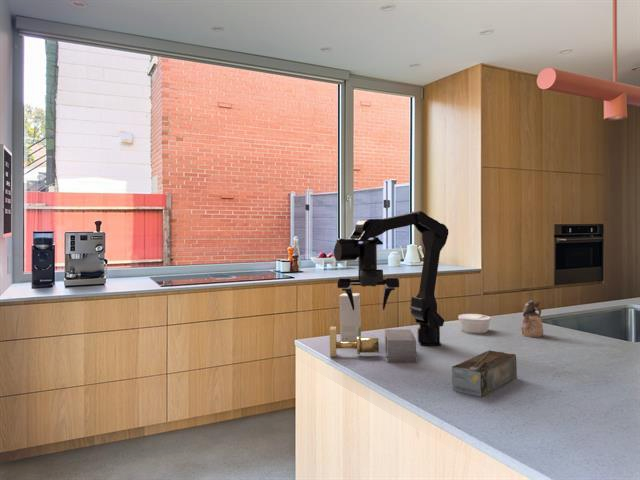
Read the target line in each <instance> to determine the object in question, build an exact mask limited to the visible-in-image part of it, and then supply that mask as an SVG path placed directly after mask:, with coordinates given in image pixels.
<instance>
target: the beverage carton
mask: <svg viewBox="0 0 640 480" xmlns="http://www.w3.org/2000/svg"><path fill="white" fill-rule="evenodd" d="M517 373H518V371H517V355H516V354H514V353H507V352H502V351H495V350H490V349H489V350H487V351H484V352H482V353H481V354H477V355H476V356H474V357H472V358H469V359H467V360H464V361H462V362H460V363H457V364H455V365H453V366H451V384H452V390H453V391H456V392H460V393H464V394H466V395H471V396H475V397H479V398H482V397H485V396H486V395H488V394H490V393H491V392H494V391H495V390H496V389H498V388H501V387H502V386H504V385H505V384H507V383H509V382H512V381H513V380H515V379H516V378H518V374H517Z"/></svg>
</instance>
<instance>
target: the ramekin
mask: <svg viewBox="0 0 640 480" xmlns="http://www.w3.org/2000/svg"><path fill="white" fill-rule="evenodd" d="M457 318H458V323H459V329H460V330H461V331H462V332H464V333H469V334H485V333H487V332H488V331H489V329H490V328H489V327H490V324H491V323H490V321H491V320H492V318H491V317H490V316H489V315H485V314H481V313H463V314H459V315H458V317H457Z"/></svg>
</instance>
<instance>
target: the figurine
mask: <svg viewBox="0 0 640 480" xmlns="http://www.w3.org/2000/svg"><path fill="white" fill-rule="evenodd" d="M540 304H541V302H540V301H539V300H538V301H536V302H534V301H533V300H528V301H527V302H526V303H525V304H524V307H523V308H522V309H521V310H522V316H523V319H522V325H521V330H520V331H521V332H520V334H521V336H523V337H528V338H541V337H543V336H544V327H543V325H544V324H543V322H542V318H541V314H542V309H541V307H539V305H540ZM536 311H538V312H536Z"/></svg>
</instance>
